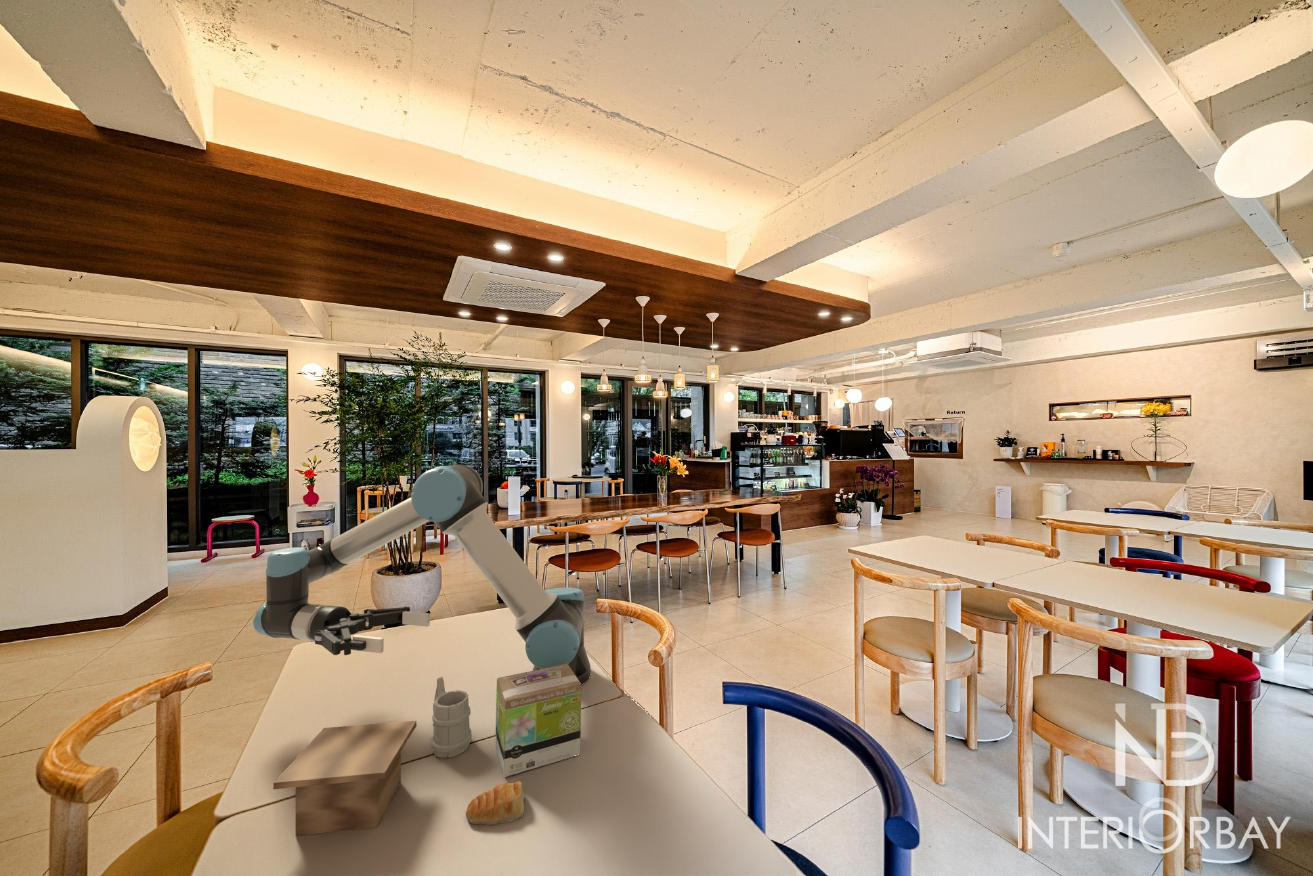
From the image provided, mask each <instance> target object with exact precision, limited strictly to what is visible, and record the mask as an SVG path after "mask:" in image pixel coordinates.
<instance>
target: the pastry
mask: <svg viewBox="0 0 1313 876" xmlns="http://www.w3.org/2000/svg"><path fill="white" fill-rule="evenodd" d="M524 799H525V795H524V789H523V783H522V781H520V780H517V781H515V782H510V783H509V782H508V783H507V782H506V783H499V784H497V785H496V786H495V787H493V788H492V789H489V790H488V791H486V792H482V793H481V794H480V795H478V796H476V797H475V798H473V799H472V800H471V801H469V803H468V806H467V808H466V811H465V817H466V819H467V820H468V821H469V823H470V824H474V825H479V824H480V823H481V825H487V824H488V825H487V826H494V825H498V824H499V823H500V824H503V823H502V822H505V823H509V822H508V821H510V822H512V821H511V820H514V821H516V820H515V819H517V820H519V819H521V818H522V817H523V815H524V813H525V804H524ZM521 816H522V817H521ZM520 817H521V818H520ZM518 818H519V819H518Z"/></svg>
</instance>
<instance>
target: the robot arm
mask: <svg viewBox="0 0 1313 876" xmlns="http://www.w3.org/2000/svg"><path fill="white" fill-rule="evenodd" d="M483 485H484V483H483V480H482V477H481V475H480V474H479V473H478V472H477V471H476V469H474V468H472V467H471V466H469V465H465V464H451V465H447V466H445V465H441V466H440V465H439V466H435V467H433V468H432V469H429V470H427V471H425V472H423V473H422V474H420V475H419V476H418V478H417V479H416V481H415V482H414V484H413V486H412V490H411V493H410V496H411V497H409V498H407V499H405V500H403V501H401V502H399V503H398V504H396V505H394V506H392V507H390V508H388V509H386V510H385V511H382V512H380V513H379V514H377V515H375V516H373V517H371V518H370V519H368V520H366V521H363V522H362V523H360V524H358V525H357V526H354V527H352V528H350V529H349V530H347V531H345V532H343V533H342V534H340V535H337V536H336V537H333V538H332V539H330V540H328V541H326V542H325V543H322V544H320V545H319V546H316V547H314V548H312V549H309V550H308V548H305V547H301V546H300V547H299V546H298V547H286V548H282V549H281V548H280V549H276V550H274V551H271V552H270V553H269V554H268V556H267V562H266V568H265V574H266V577H265V578H266V582H265V583H266V585H265V586H266V589H265V590H266V602H265V603H264V604H262V605H261V606H260V607H259V608H258V609H257V611H256V614H255V616H254V617H253V620H252V625H253V628H254V630H255V632H256V633H258V634H260V635H262V636H267V637H271V638H274V639H291V640H299V641H301V640H302V641H309V642H310V643H314V645H317V646H322V647H323V648H324V649H325V650H327V651H328V652H329V653H331V654H332V655H333V656H338V655H340V654H341V652H343V656H348V655H351V654H352V651H357V652H358V651H359V652H367V653H378V654H382V653H383V652H385V650H384V645H385V643H384V642H385V641H384V639H385V638H384V637H378V636H377V637H376V636H370V635H369V636H368V635H361V634H359V635H358V634H357V633H359V632H365V631H370V630H372V628H375V627H376V628H377V627H380V626H382V627H383V626H387V625H394V624H400V623H402V625H406V626H407V625H408V626H419V627H425V628H426V627H429V626H431V625H430V624H431V623H430V622H431V621H430V620H431V614H430V613H429V612H428V613H427V612H417V611H411V607H410V606H404V607H403V606H402V607H392V608H390V607H389V608H378V609H376V608H375V609H373V608H372V609H371V608H369V609H368V608H367V609H364V610H363V613H351V611H350V610H349V609H348V608H347V607H345V606H341V605H340V606H338V605H337V606H336V605H328V604H317V603H309V596H310V595H309V592H310V591H309V590H310V589H309V588H310V585H309V584H311V583H314V582H316V581H318V580H320V579H322V578H324V577H327V576H329V575H331V574H334V573H337V572H338V571H340V570H342V568H344V567H346V566H348V565H349V564H351V563H353V562H355V561H356V560H359V559H361V558H362V557H364V556H367V555H369V554H371V553H372V552H373V551H375V550H377V549H379V548H382V547H383V546H385V545H387V544H389V543H391V542H393V541H395V540H396V539H398V538H400V537H402V536H403V535H404V536H405V534H408V533H409V532H411V531H413V530H415V529H417V528H419V527H420V526H422V525H425V524H427V523H429V522H433V523H434V524H435V525H436V527H437V529H439V530H440V532H441V533H442V534H443V535H448V536H453V537H454V538H455V539H456V541H457V543H459V544H460V546H461V547H462V549H463V550H464V551H465V552H466V554H467V555H468V557H469V558H470V559H471V560H472V561H473V563H474V565H476V567H477V569H478V570H479V571H480V572H481V574H482V575H483V576H484V577H485V579H486V580H487V582H489V584H490V585H491V587H492V588H493V589H494V591H495V592H496V593H497V594H498V596H499V597H500V599H501V600H502V601H503V602H504V604H505V605H506V606H507V608H508V609H509V610H510V612H511V613H512V615H513V616H514V617H515V624H514V625H515V626H514V629H515V630H516V632H517V633H518V634H519V636H520V637H521V639H523V641H524V642H525V645H524V646H525V647H524V648H525V653H526V657H527V659H528V661H530V663H531V664H532V665H533V668H532V671H534V670H539V669H543V668H548V667H553V666H558V665H563V664H568V665H569V667H570V668H571V670H572V671H573V673H574V674H575V675H576V677H577V678H578V680H579V681H580V683H581V686H583V685H584V684H583V683H585V682H586V681H587V680H588V679H590V678H591V675H592V674H591V667H592V666H591V663H590V659H589V657H588V654H587V651H586V648H585V601H586V600H585V595H584V594H585V593H584V591H583V590H582V589H580V588H576V587H554V588H547V589H545V588H544V587H543V586H542V585H541V583H540V582H539V581H538V578H536V576H535V575H534V574H533V573H532V571H531V570H530V568H529V567H528V565H527V564H526V563H525V562H524V560H523V559H522V558H521V557H520V555H519V554H518V552H517V551H516V550H515V548H514V547H513V546H512V545H511V543H510V542H509V540H508V539H507V537H505V534H503V533H502V532H501V530H500V528H499V527H498V526H497V525H496V523H495V521H493V519H492V518H491V517H490V515H489V514H488V513H487V512H488V511H487V509H488V505H489V503H488V501H487V500H486V499H485V497H484V496H483V495H482V494H483V490H484V489H483V487H484V486H483ZM367 623H368V625H367ZM351 635H353V636H351ZM590 674H591V675H590ZM589 677H590V678H589ZM588 681H589V680H588ZM588 681H587V682H588ZM587 682H586V683H587ZM586 683H585V684H586ZM582 684H583V685H582Z"/></svg>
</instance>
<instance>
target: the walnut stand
mask: <svg viewBox="0 0 1313 876" xmlns="http://www.w3.org/2000/svg"><path fill="white" fill-rule="evenodd" d="M417 723H418V722H417V720H407V721H395V722H392V721H391V722H382V723H369V724H356V725H344V726H334V727H333V726H331V727H324V728H322V730H320V732H319V733H318V734H316V735H315V737H314V738H313V739H312V740H311V741H310V742H309V743H308V745H306V747H305V748H304V749H303V750H302V751H301V752H300V753H299V754H298V755H297V756H296V758H294V760H293V761H292V762H291V763H289V765H288V766H287V767H286V769H284V771H283V772H282V773H281V774H280V775H279V776H278V777H277V778H276V779H275V781H274V782H273V783H272V784H273V786H272V787H273V789H272V790H281V789H289V788H290V789H291V788H295V835H294V836H297V837H298V836H306V835H313V834H314V835H315V834H323V833H332V832H333V833H334V832H343V831H350V830H352V831H353V830H359V829H360V830H361V829H370V828H371V829H372V828H376V827H378V825H379V823H380V821H381V820H382V818H383V816H384V814H385V812H386V810H387V809H388V807H389V805H390V803H391V802H392V800H393V798H394V796H395V794H396V792H397V791H398V789H399V788H400V785H401V783H402V751H403V749H404V748H405V746H406V744H407V742H408V741H409V739H410V737H411V736H412V734H413V732H414V731H415V729H416V728H417Z"/></svg>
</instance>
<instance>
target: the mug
mask: <svg viewBox="0 0 1313 876" xmlns="http://www.w3.org/2000/svg"><path fill="white" fill-rule="evenodd" d="M445 688H446V687H445V681H444V677H443V676H440V677H437V678H436V688H435V693H434V699H433V701H434V703H433V704H432V705H433V706H432V711H433V712H432V713H433V714H432V717H431V719H432V722H433V733H432V737H431V740H430V746H431V747H430V748H431V749H432V754H434V756H435V757H439V758H442V759H444V758H445V759H446V758H453V757H456V756H458V755H460V754H462V753H464V752H466V750H467V749H468V748H469V746H470V743H471V740H472V736H473V734H472V729H471V728H470V716H471V712H472V711H471V707H470V705H469V704H470V703H469V702H470V701H469V694H468V693H467V692H466V691H464V690H455V691H454V690H451V691H446V690H445Z"/></svg>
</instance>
